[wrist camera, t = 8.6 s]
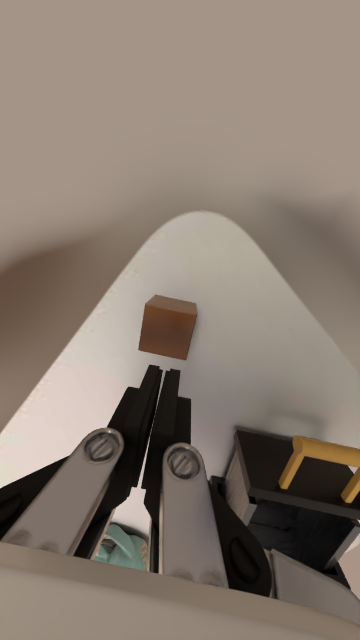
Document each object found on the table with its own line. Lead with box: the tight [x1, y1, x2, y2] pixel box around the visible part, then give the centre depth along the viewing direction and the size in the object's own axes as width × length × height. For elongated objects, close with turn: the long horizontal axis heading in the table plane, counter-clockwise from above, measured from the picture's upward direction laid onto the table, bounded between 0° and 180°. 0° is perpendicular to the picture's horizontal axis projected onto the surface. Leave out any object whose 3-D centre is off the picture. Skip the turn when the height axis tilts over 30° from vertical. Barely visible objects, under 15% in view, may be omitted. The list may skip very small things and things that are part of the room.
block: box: [138, 295, 197, 360], centre depth 19 cm, size 4×4×4 cm
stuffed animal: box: [94, 524, 148, 571], centre depth 30 cm, size 11×7×12 cm
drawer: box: [219, 430, 360, 574], centre depth 22 cm, size 20×12×6 cm, turn 169°
